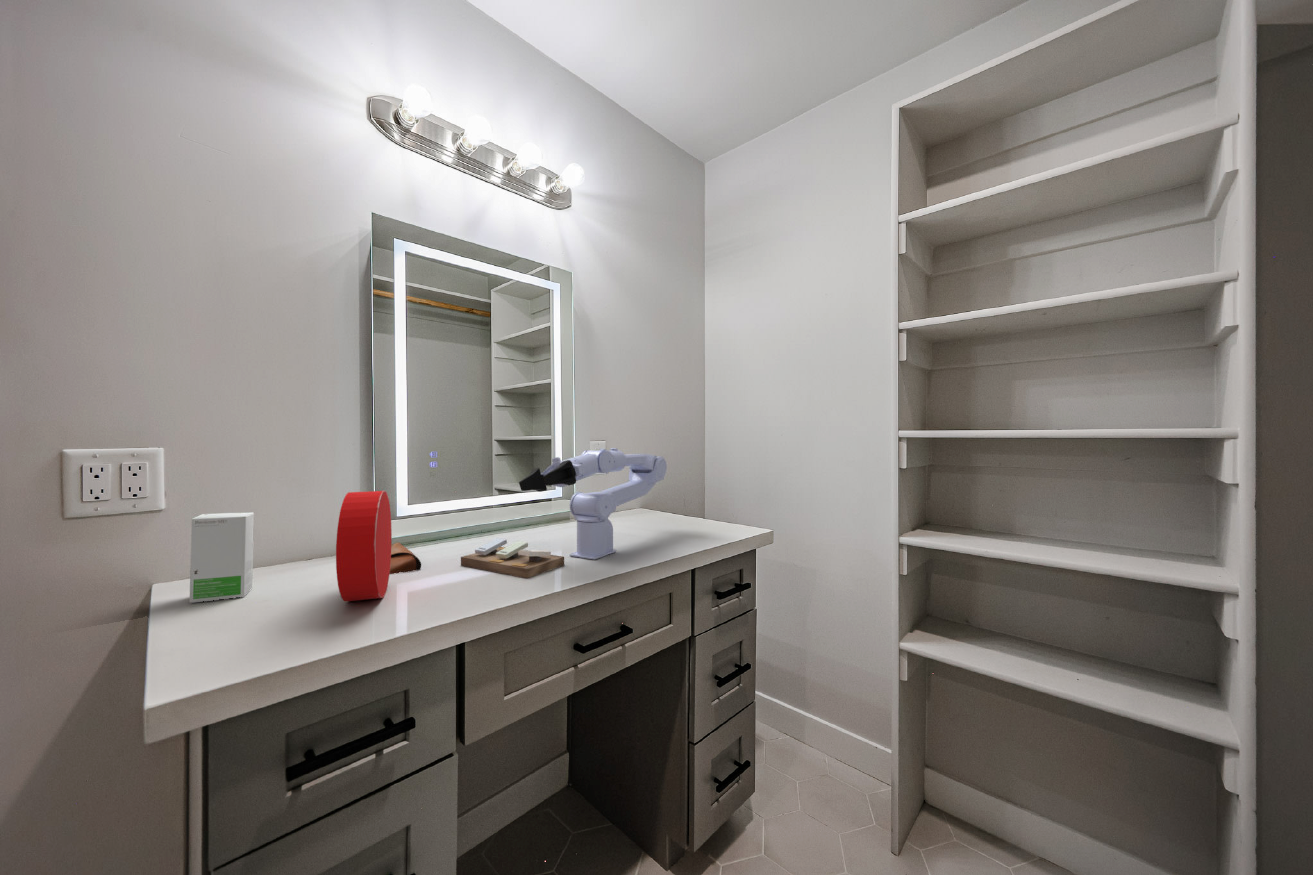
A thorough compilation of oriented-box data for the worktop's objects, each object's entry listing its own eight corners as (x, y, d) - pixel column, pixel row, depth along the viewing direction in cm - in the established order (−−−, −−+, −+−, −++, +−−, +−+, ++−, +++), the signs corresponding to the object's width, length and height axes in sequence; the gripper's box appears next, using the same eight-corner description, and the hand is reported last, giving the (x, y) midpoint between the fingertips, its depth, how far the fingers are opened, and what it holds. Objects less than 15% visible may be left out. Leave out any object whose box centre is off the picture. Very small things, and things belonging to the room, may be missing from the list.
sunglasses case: (365, 559, 123) (380, 534, 125) (392, 570, 127) (407, 545, 129) (380, 576, 109) (397, 547, 111) (410, 587, 113) (426, 559, 115)
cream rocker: (539, 554, 118) (540, 549, 118) (550, 556, 116) (551, 551, 116) (518, 554, 112) (519, 549, 112) (529, 556, 110) (529, 551, 110)
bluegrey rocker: (497, 541, 125) (497, 537, 125) (507, 543, 123) (506, 539, 123) (475, 553, 119) (474, 549, 119) (484, 555, 117) (484, 550, 117)
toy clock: (359, 584, 103) (359, 486, 103) (391, 581, 105) (391, 485, 105) (336, 617, 85) (335, 498, 84) (375, 613, 87) (374, 497, 87)
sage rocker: (518, 544, 121) (517, 540, 121) (528, 546, 120) (527, 542, 120) (496, 557, 115) (495, 552, 115) (506, 558, 114) (505, 554, 114)
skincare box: (188, 604, 91) (187, 518, 91) (200, 594, 97) (199, 513, 97) (246, 597, 95) (245, 515, 95) (255, 587, 101) (254, 510, 101)
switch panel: (500, 554, 128) (500, 543, 128) (564, 565, 118) (564, 552, 118) (460, 565, 118) (460, 553, 118) (527, 578, 107) (527, 564, 107)
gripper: (547, 459, 125) (506, 471, 114) (591, 447, 117) (551, 459, 106) (555, 486, 125) (514, 501, 114) (599, 476, 118) (560, 491, 106)
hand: (532, 483), depth 110 cm, fingers open, 7 cm apart
